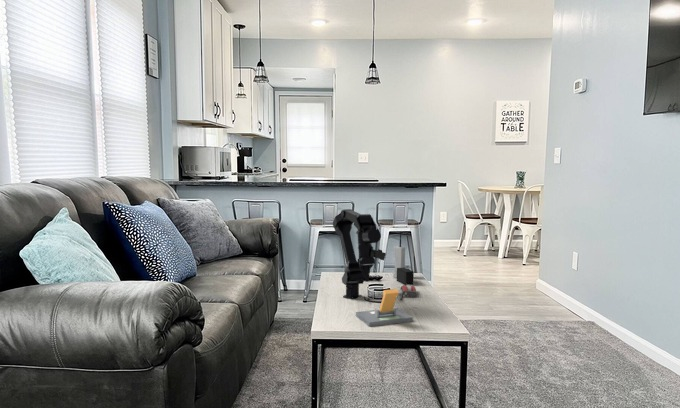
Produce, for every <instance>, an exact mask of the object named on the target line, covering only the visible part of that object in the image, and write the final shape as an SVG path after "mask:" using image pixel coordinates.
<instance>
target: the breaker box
mask: <svg viewBox="0 0 680 408" xmlns="http://www.w3.org/2000/svg"><path fill="white" fill-rule="evenodd" d="M379 310H380V308H377V307H375V308H374V309H371V310H363V311H362V310H361V311H356V312H355V316H356V317H357V318H358V319H359V320H360V321H361V322H363V323H364V324H365V325H366V326H367V327H377V326H385V325H394V324H400V323H401V324H402V323H409V322H410V323H411V322H413V321H414V317H413V316H411V315H409V313H407V312H405V311H403V310H401V309H399V308H398V307H396V306H394V307H393V314H387V315H379Z"/></svg>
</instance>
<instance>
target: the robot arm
mask: <svg viewBox="0 0 680 408" xmlns="http://www.w3.org/2000/svg"><path fill="white" fill-rule="evenodd" d="M352 225H353V226H354V227H355V228H356V229H357V230H356V232H355V234H357V249H358V259H357V258H356V254H355V249H354V245H353V242H352V237H351V230H352ZM332 227H333V228H334V231H335V234H337V236H339V238H340V242H341V247H342V250H343V254H344V260H345V268H344V270H343V271H344V272H343V275H342V277H341V283H342V284H343V285H345V294H344V295H343V296H342V298H347V299H351V300H357V299H359V298H360V297H362V296H363V294H360V284H361V285H362V284H364V281H365V282H368V283H369V281H370V274H371V268H372V267H373V266H374V265H375V264H376V259H379V260H380V261H385V258H386V257H387V256H386V255H387V253H386V252H383V250H382V249H380V248H378V249H377V250H376V249H374V247H373V244H376V243H378V242H379V241H381V238H382V234H381V232H380V231H379V230H378V229H377V224H376V223H375V221H374V218H373V216H372V215H371V213H367V214H363V213H362V214H361V213H359V212H357V211H355V210H353V209H350V208H349V209H347V208H345V209H342V210H341V211H340V212H339V213H338V214H337V215H336V216H334V219H333V221H332Z"/></svg>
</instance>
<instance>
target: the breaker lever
mask: <svg viewBox="0 0 680 408" xmlns="http://www.w3.org/2000/svg"><path fill="white" fill-rule="evenodd" d="M398 290H399V289H396V288H392V289H384V290H383V292H382V299H381V303H380V307H379V309H380V310H379V315H387V314H393V307H395V304H396V301H397V298H398V294H399V292H398Z"/></svg>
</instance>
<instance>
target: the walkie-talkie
mask: <svg viewBox="0 0 680 408" xmlns="http://www.w3.org/2000/svg"><path fill="white" fill-rule="evenodd" d="M397 290H398V292H399V294H398V296H397V298H398V300H399V301H402V298H417V296H418V292H417V289H416V286H415V285H414V284H413V285H404V284H402V285H401V287H400V289H397Z"/></svg>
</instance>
